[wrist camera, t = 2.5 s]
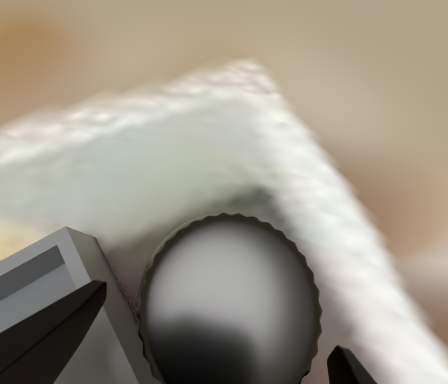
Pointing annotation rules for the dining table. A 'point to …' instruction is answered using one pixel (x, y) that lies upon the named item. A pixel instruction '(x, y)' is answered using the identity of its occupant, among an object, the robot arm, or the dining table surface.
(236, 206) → the dining table surface
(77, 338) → the robot arm
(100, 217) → the dining table surface
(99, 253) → the square tray
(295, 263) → the supplement bottle
